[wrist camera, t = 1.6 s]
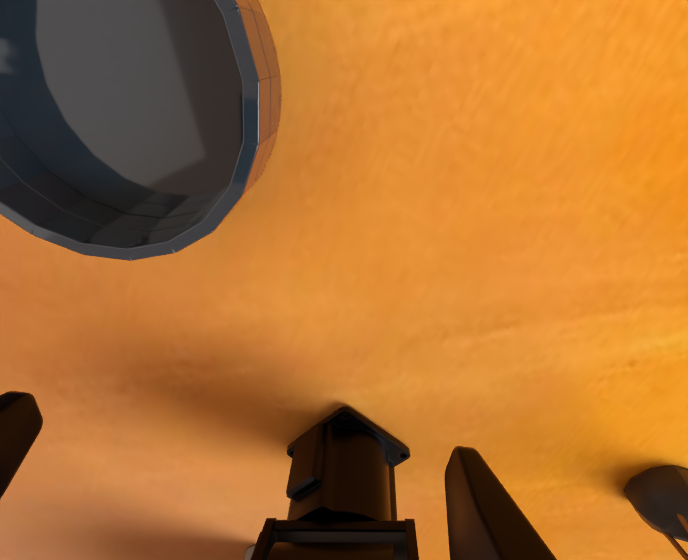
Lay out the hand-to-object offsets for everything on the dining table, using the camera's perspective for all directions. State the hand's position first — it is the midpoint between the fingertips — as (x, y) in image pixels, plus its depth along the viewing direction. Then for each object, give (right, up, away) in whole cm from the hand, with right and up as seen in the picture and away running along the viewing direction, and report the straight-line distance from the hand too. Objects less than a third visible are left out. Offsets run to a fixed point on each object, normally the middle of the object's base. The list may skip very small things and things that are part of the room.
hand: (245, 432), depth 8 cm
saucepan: (-7, +12, +9) cm, 16 cm away
